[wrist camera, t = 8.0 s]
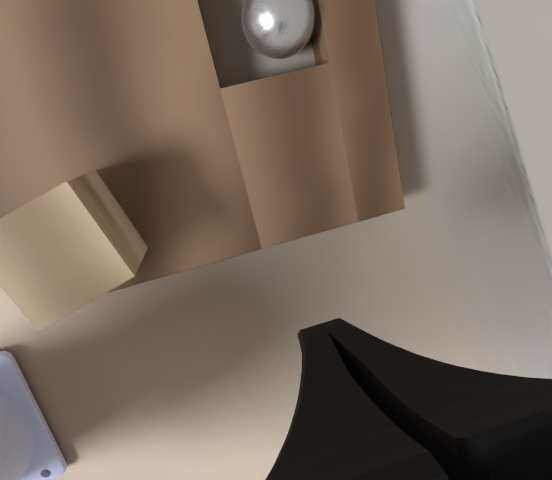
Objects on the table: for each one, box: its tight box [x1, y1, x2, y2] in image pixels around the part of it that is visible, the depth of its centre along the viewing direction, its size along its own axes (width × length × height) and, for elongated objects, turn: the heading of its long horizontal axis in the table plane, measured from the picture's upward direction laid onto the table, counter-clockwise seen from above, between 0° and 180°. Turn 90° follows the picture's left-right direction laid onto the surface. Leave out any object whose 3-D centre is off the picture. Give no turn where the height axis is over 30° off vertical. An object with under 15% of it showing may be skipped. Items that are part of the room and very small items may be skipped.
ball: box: [241, 0, 315, 59], centre depth 18 cm, size 3×3×3 cm
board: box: [0, 0, 405, 293], centre depth 18 cm, size 18×16×2 cm
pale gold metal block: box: [0, 171, 148, 331], centre depth 16 cm, size 4×4×4 cm
